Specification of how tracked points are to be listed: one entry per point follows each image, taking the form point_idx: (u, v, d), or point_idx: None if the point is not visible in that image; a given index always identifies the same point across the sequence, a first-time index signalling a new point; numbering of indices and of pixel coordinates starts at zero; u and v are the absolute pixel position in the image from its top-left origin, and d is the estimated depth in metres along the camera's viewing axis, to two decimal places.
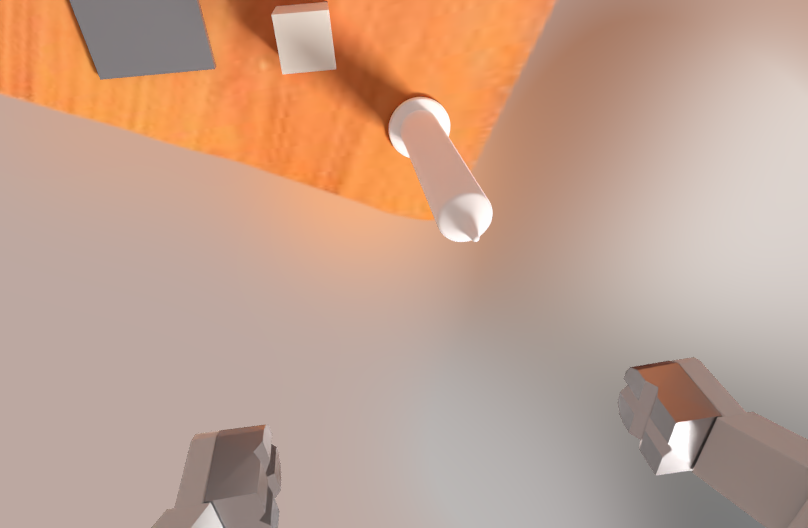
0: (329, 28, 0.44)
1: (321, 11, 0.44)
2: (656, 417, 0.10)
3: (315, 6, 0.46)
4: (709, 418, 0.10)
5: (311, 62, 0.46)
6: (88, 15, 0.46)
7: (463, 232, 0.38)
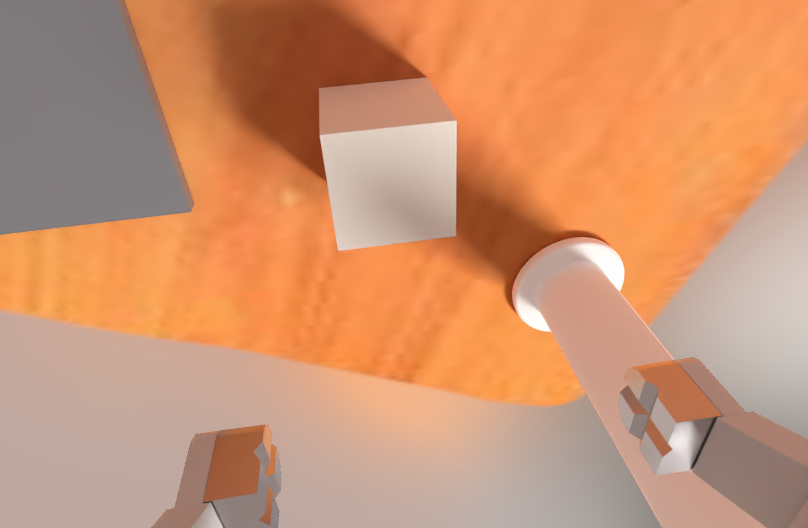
0: (452, 158, 0.19)
1: (439, 124, 0.18)
2: (656, 417, 0.10)
3: (411, 97, 0.21)
4: (709, 418, 0.10)
5: (403, 227, 0.20)
6: None
7: None
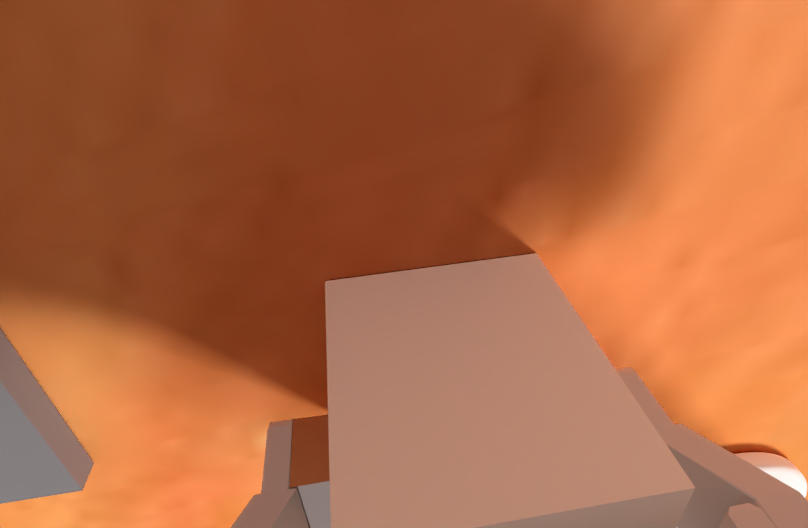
0: None
1: (649, 498, 0.07)
2: None
3: (530, 342, 0.09)
4: None
5: None
6: None
7: None
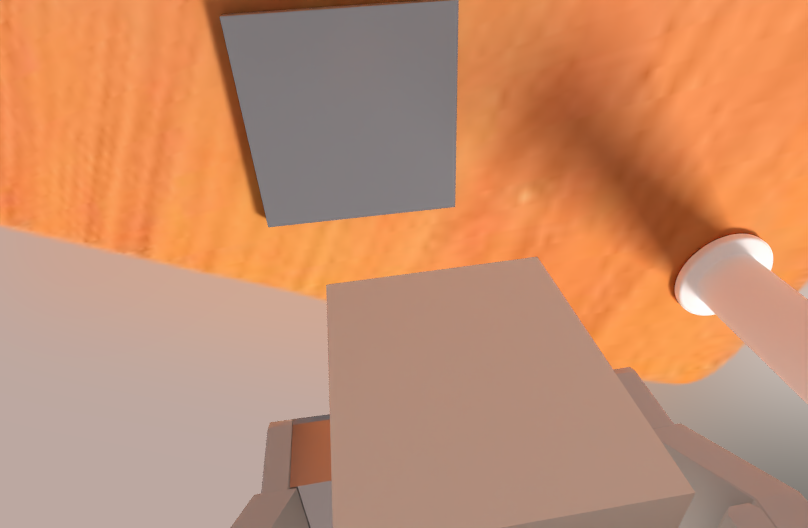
0: None
1: (649, 503, 0.07)
2: None
3: (531, 346, 0.09)
4: None
5: None
6: (268, 131, 0.26)
7: None
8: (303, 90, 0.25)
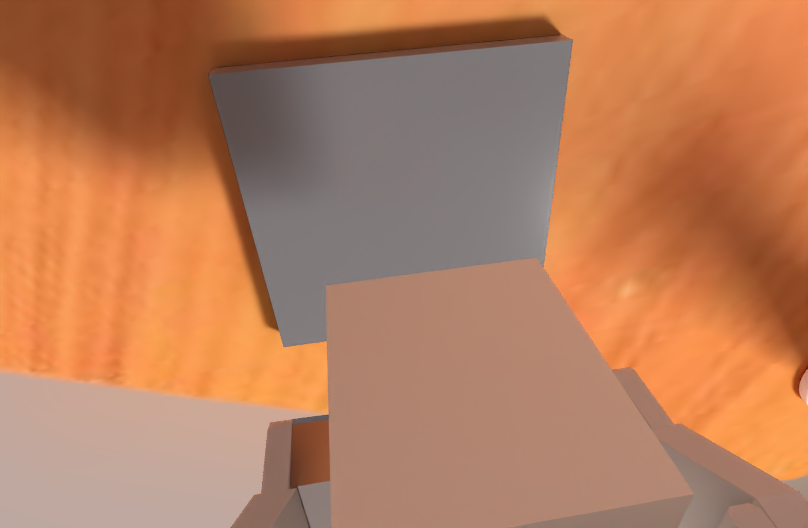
0: None
1: (648, 504, 0.07)
2: None
3: (530, 347, 0.09)
4: None
5: None
6: (284, 229, 0.18)
7: None
8: (335, 174, 0.17)
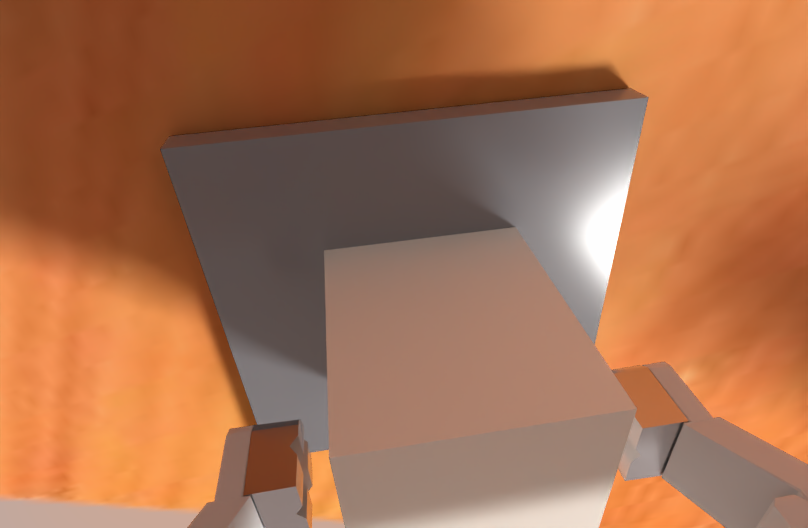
0: (611, 463, 0.09)
1: (598, 417, 0.08)
2: None
3: (505, 299, 0.11)
4: (675, 423, 0.10)
5: None
6: (267, 331, 0.14)
7: None
8: None
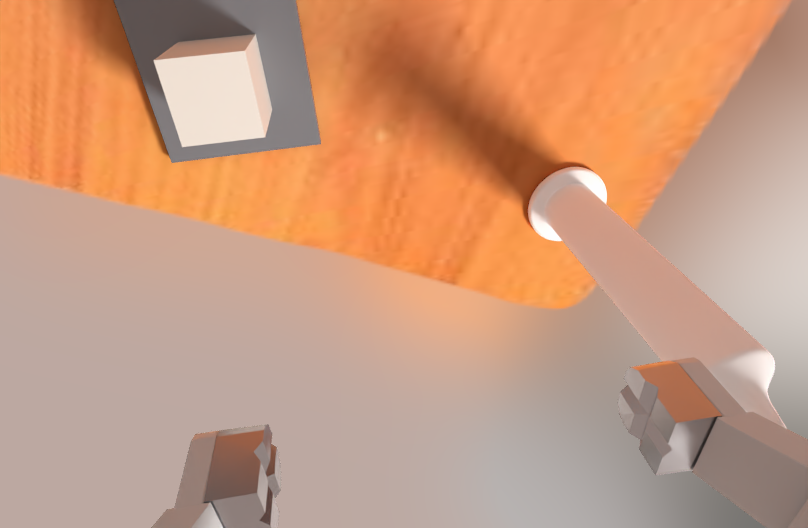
0: (248, 78, 0.29)
1: (233, 53, 0.28)
2: (656, 417, 0.10)
3: (231, 43, 0.30)
4: (709, 418, 0.10)
5: (225, 129, 0.30)
6: (160, 82, 0.34)
7: (745, 410, 0.25)
8: None
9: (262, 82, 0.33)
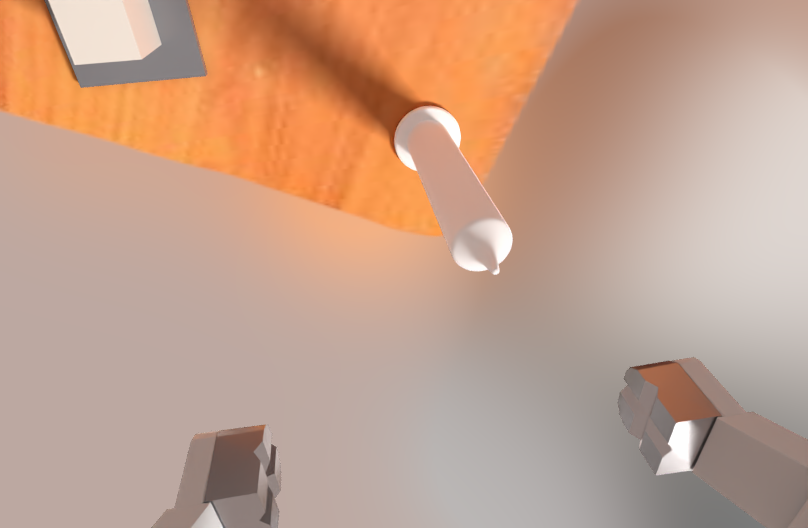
0: (123, 9, 0.37)
1: None
2: (656, 417, 0.10)
3: None
4: (709, 418, 0.10)
5: (108, 51, 0.38)
6: None
7: (480, 262, 0.34)
8: None
9: (146, 18, 0.41)
